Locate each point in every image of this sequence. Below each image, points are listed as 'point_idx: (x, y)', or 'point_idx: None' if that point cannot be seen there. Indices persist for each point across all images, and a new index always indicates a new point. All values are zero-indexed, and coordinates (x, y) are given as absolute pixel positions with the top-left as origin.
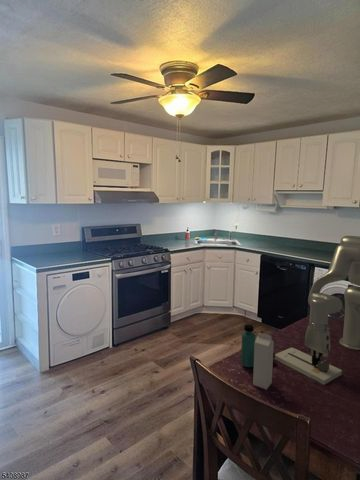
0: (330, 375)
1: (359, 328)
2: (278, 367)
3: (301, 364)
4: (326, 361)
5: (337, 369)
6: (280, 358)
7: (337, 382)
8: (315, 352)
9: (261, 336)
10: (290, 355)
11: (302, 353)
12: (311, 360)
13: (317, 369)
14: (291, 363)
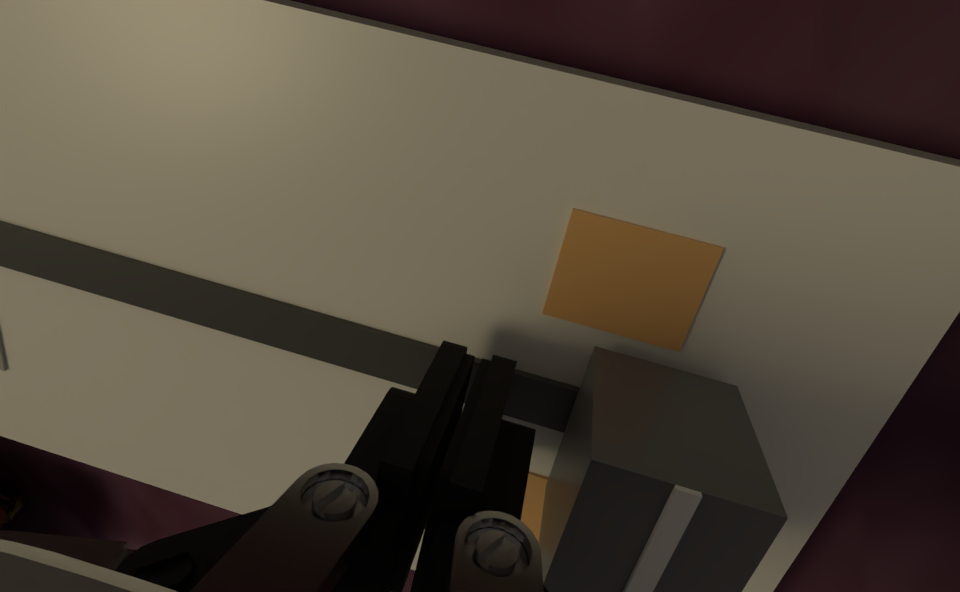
0: (790, 520)
1: None
2: (143, 519)
3: (289, 445)
4: (709, 548)
5: (916, 224)
6: (17, 437)
7: (890, 471)
8: (340, 560)
9: None
10: (11, 272)
11: (49, 16)
12: (328, 204)
13: (543, 454)
14: (187, 493)
